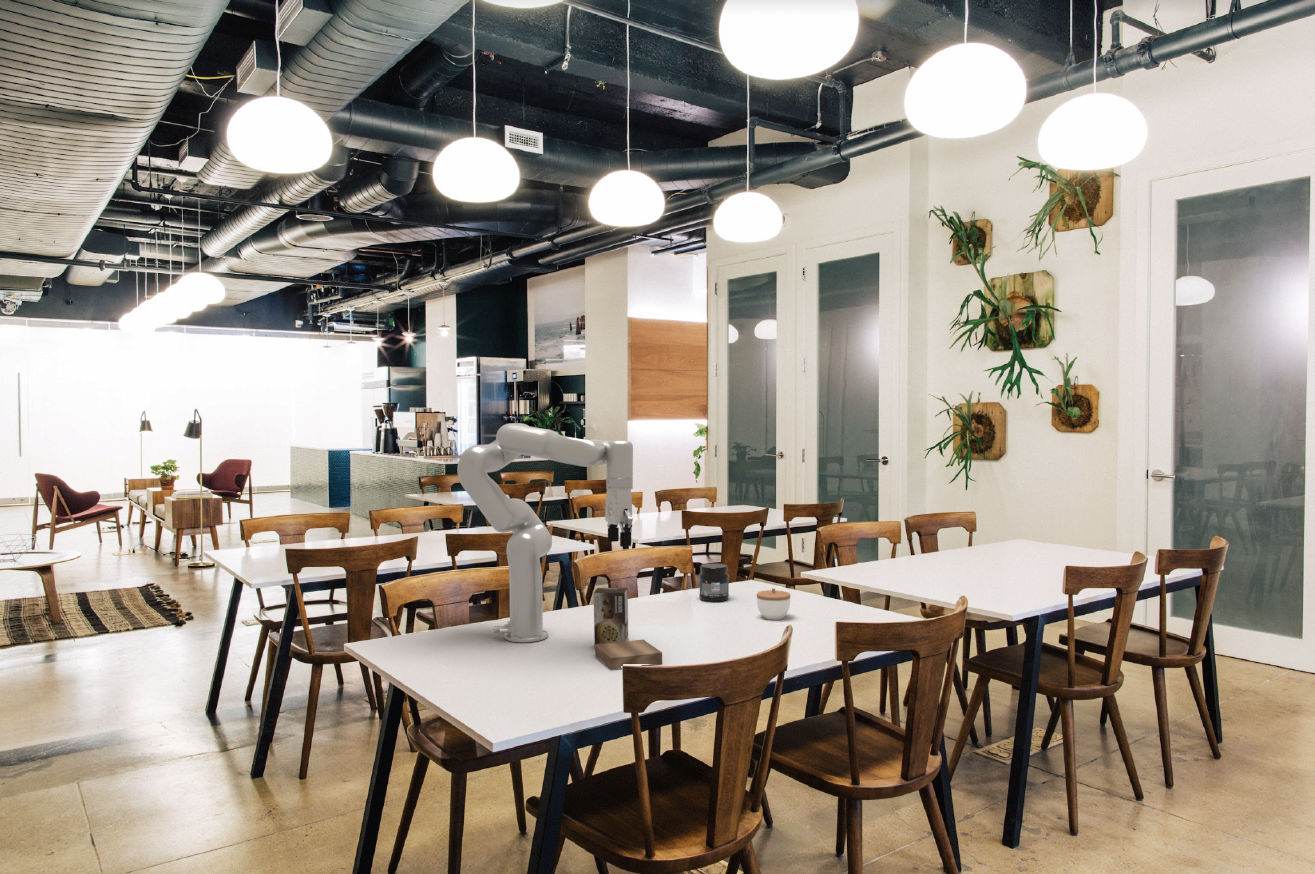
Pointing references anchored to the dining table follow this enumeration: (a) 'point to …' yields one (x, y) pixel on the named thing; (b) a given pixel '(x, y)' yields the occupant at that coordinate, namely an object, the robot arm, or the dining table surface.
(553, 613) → the dining table surface
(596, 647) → the block
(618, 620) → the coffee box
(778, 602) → the lidded jar
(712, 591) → the supplement container
